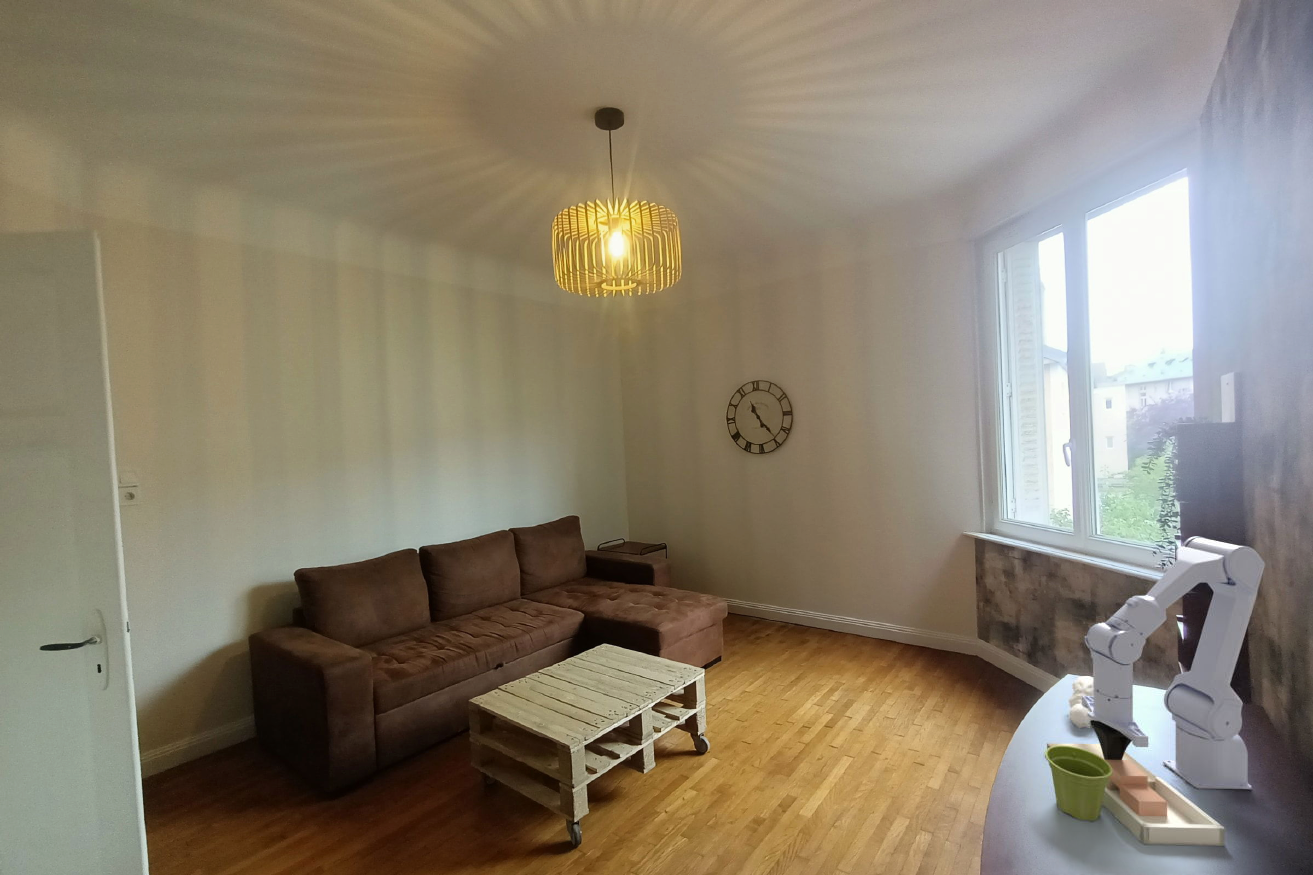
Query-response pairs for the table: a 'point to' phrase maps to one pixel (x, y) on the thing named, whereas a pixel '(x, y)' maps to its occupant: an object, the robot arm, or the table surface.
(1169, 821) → the tray
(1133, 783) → the tile
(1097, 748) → the thin cream square panel
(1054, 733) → the table surface
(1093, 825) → the table surface
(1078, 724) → the white figurine
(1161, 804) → the tile
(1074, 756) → the plant pot
